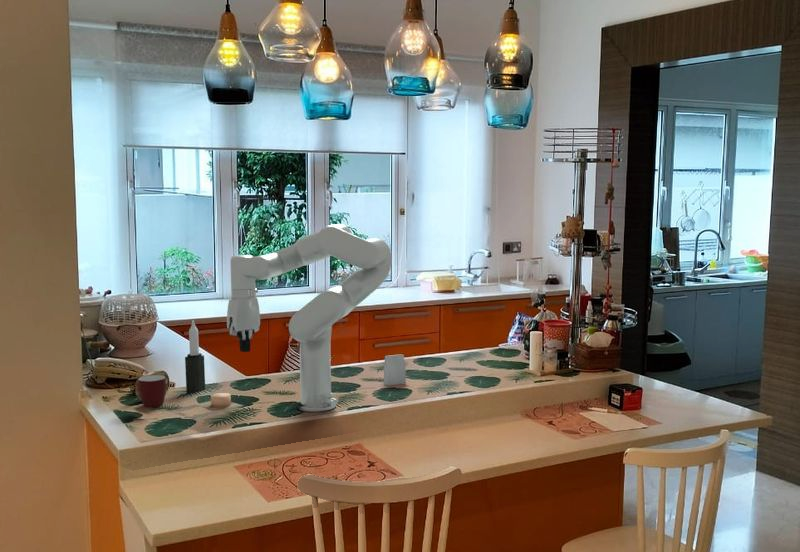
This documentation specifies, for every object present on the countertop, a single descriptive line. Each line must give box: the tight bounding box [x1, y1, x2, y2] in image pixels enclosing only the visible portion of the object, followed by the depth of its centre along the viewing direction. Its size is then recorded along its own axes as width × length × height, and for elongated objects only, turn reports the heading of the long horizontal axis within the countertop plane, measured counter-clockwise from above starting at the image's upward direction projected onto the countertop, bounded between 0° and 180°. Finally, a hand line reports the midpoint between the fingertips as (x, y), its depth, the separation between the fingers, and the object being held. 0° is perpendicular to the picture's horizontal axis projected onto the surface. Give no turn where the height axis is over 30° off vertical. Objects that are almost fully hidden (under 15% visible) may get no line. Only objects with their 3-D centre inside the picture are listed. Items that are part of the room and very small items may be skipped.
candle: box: [184, 319, 206, 395], centre depth 262 cm, size 5×5×25 cm
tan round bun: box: [210, 392, 232, 408], centre depth 243 cm, size 6×6×3 cm
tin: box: [134, 370, 170, 402], centre depth 258 cm, size 15×3×8 cm, turn 160°
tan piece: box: [170, 400, 245, 420], centre depth 240 cm, size 13×18×2 cm
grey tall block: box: [383, 353, 407, 386], centre depth 274 cm, size 4×7×10 cm, turn 111°
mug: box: [138, 375, 166, 408], centre depth 245 cm, size 11×8×10 cm
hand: (245, 351), depth 249 cm, fingers closed
